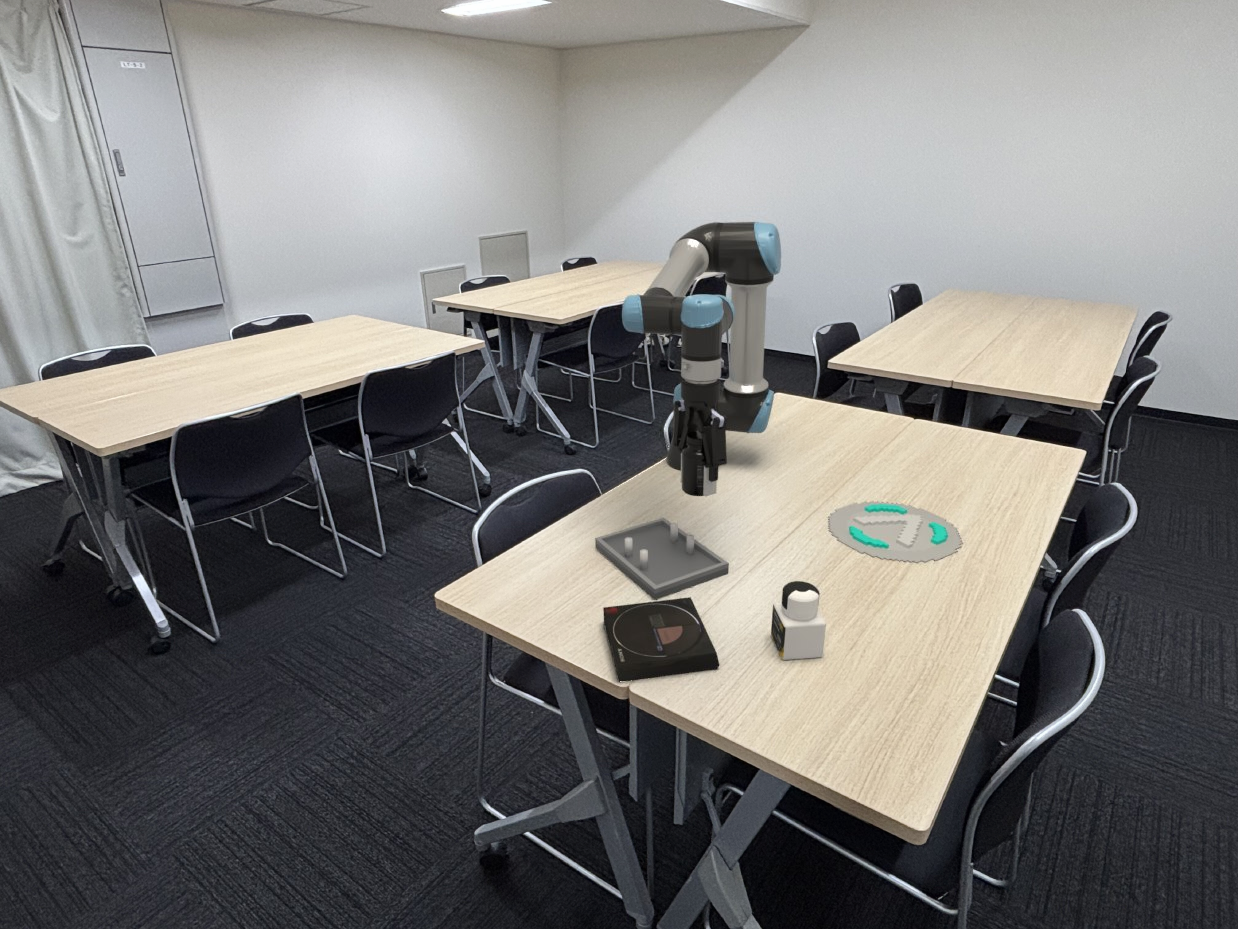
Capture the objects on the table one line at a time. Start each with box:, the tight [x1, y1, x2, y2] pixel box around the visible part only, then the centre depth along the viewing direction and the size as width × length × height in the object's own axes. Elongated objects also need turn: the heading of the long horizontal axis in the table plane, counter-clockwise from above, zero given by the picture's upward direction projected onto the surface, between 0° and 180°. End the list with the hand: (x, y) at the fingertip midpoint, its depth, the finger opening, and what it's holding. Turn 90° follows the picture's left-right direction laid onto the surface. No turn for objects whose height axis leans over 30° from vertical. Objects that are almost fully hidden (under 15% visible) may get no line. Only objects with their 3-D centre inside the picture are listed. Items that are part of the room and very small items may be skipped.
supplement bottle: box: [681, 431, 713, 497], centre depth 142 cm, size 7×7×12 cm
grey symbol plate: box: [827, 500, 964, 564], centre depth 161 cm, size 28×28×2 cm
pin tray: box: [594, 517, 730, 601], centre depth 150 cm, size 24×18×6 cm
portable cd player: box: [602, 596, 721, 683], centre depth 124 cm, size 16×17×4 cm
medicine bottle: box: [770, 580, 827, 661], centre depth 121 cm, size 7×7×12 cm
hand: (698, 487), depth 144 cm, fingers closed on supplement bottle, 7 cm apart
